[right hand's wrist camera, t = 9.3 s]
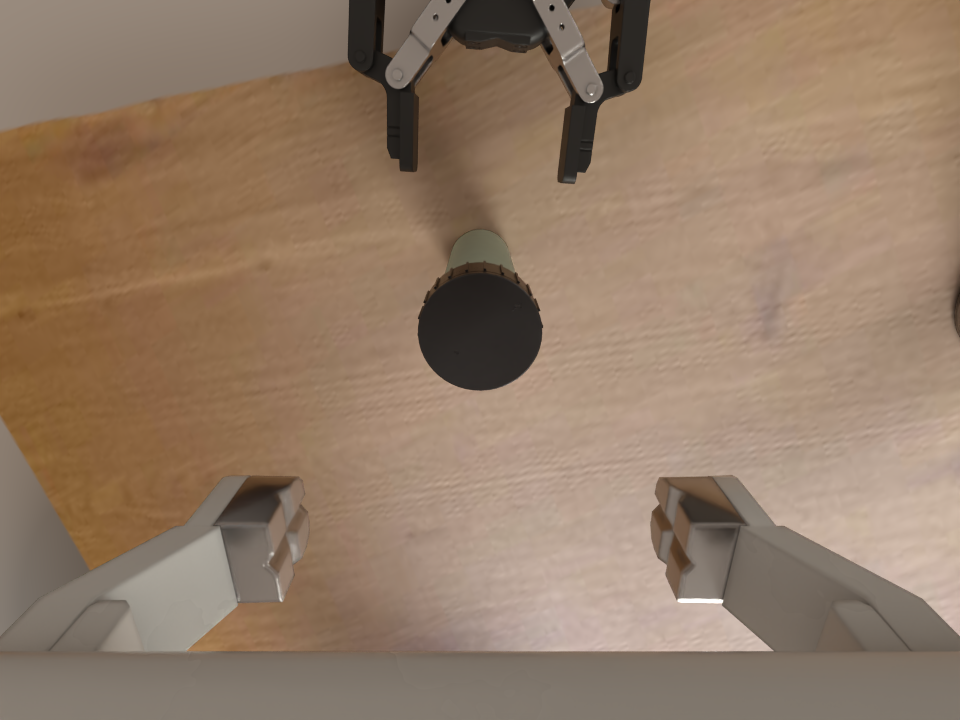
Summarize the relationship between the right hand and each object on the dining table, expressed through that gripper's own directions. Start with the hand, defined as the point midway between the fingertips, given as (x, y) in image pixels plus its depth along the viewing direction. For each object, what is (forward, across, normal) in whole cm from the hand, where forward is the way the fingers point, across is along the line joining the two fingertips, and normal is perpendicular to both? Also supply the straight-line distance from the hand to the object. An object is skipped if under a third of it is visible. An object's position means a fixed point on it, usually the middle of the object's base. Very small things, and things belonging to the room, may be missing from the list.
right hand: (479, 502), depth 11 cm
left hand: (+20, 0, +6) cm, 21 cm away
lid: (+11, 0, 0) cm, 11 cm away
